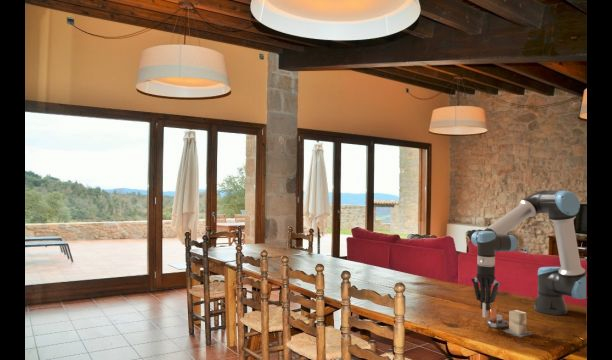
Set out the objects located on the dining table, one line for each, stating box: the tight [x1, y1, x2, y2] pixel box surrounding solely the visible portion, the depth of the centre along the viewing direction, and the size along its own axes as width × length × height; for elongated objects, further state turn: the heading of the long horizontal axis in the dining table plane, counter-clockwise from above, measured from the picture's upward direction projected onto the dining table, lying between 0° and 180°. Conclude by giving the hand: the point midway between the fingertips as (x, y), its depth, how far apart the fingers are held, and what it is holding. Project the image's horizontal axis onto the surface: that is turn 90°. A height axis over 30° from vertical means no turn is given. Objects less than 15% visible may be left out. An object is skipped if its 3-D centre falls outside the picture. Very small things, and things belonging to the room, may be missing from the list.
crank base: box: [486, 318, 509, 330], centre depth 209 cm, size 9×9×2 cm
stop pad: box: [502, 328, 534, 338], centre depth 199 cm, size 9×9×1 cm
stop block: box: [508, 309, 527, 335], centre depth 199 cm, size 5×5×9 cm
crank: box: [489, 307, 504, 328], centre depth 205 cm, size 15×5×8 cm, turn 148°
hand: (485, 316), depth 202 cm, fingers closed
